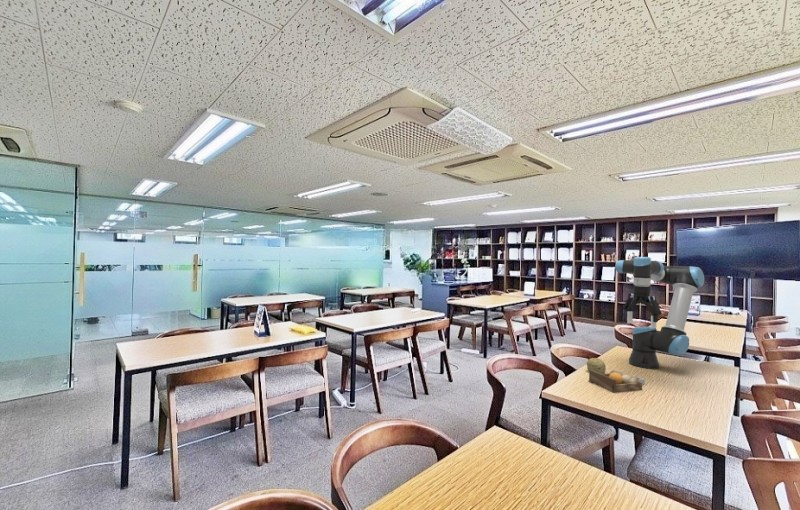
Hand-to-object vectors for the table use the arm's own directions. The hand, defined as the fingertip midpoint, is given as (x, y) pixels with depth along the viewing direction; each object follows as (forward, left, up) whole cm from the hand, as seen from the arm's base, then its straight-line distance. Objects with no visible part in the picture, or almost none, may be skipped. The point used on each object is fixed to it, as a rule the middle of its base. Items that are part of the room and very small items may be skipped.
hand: (641, 325), depth 185 cm
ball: (+20, +4, -25) cm, 33 cm away
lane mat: (+21, +4, -29) cm, 36 cm away
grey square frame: (+6, +4, -29) cm, 30 cm away
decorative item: (+14, -15, -29) cm, 36 cm away
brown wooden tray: (+21, +4, -29) cm, 36 cm away
